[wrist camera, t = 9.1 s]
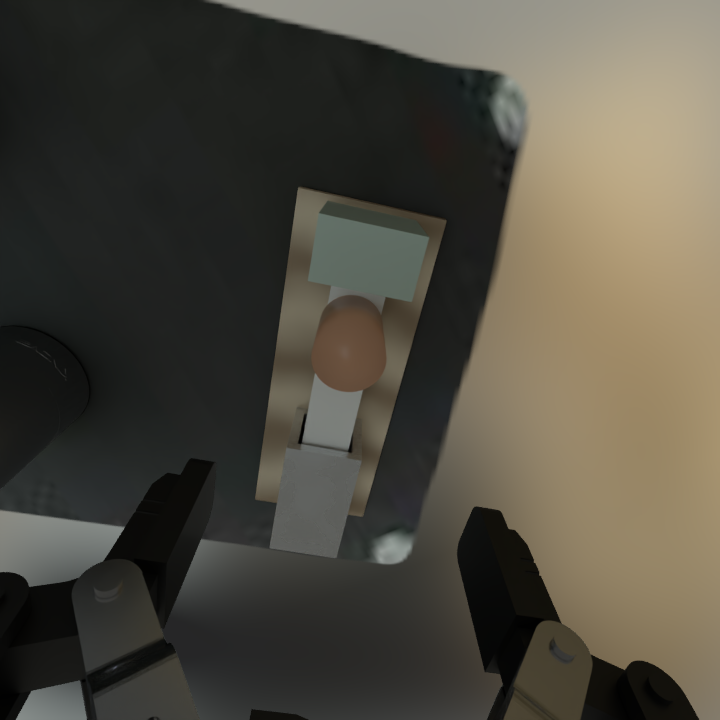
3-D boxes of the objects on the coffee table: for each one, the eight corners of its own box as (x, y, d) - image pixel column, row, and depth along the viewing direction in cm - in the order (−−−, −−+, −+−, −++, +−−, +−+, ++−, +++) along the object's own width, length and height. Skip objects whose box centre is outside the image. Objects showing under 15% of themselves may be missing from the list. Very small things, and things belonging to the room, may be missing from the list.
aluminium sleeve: (339, 508, 40) (336, 558, 35) (281, 499, 40) (269, 548, 35) (361, 418, 36) (361, 460, 31) (296, 407, 36) (286, 447, 31)
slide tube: (348, 443, 36) (344, 522, 28) (300, 435, 36) (283, 512, 28) (398, 235, 29) (411, 266, 21) (338, 222, 28) (330, 248, 21)
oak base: (362, 508, 42) (362, 516, 41) (257, 491, 41) (255, 499, 40) (444, 218, 30) (446, 220, 29) (300, 186, 29) (298, 187, 28)
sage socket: (402, 273, 31) (411, 302, 25) (318, 256, 30) (307, 280, 24) (416, 220, 29) (429, 237, 23) (327, 200, 29) (318, 213, 23)
